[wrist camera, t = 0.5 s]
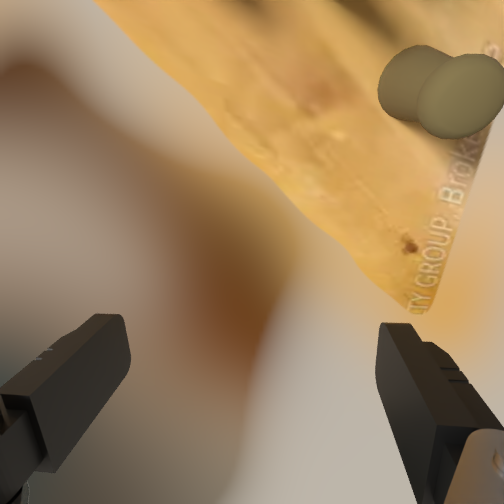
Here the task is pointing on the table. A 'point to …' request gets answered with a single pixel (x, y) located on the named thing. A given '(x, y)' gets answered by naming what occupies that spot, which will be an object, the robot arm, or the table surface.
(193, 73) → the table surface
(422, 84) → the olive green pawn
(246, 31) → the table surface
